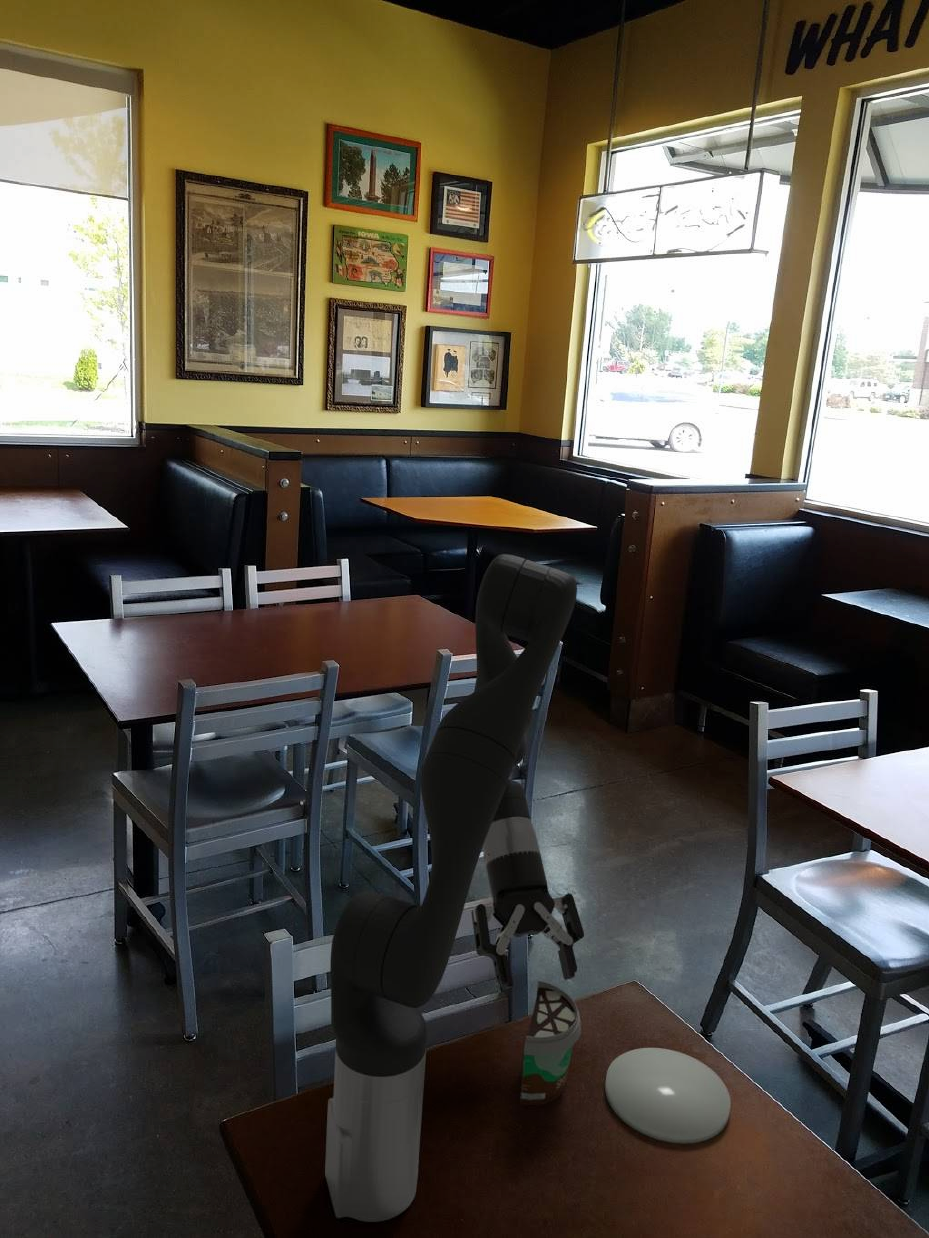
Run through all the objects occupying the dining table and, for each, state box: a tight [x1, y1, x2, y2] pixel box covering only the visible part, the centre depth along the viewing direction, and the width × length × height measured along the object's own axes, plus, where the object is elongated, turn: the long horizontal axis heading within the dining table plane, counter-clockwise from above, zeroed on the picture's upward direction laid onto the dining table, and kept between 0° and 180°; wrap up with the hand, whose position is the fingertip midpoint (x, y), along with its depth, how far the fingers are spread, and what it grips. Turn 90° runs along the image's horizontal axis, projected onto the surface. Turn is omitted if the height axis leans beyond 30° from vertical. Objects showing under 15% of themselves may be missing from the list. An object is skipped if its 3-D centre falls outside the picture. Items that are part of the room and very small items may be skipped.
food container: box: [519, 980, 582, 1106], centre depth 119 cm, size 12×6×10 cm, turn 168°
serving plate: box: [604, 1047, 732, 1145], centre depth 119 cm, size 15×15×1 cm
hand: (539, 982), depth 123 cm, fingers open, 8 cm apart
